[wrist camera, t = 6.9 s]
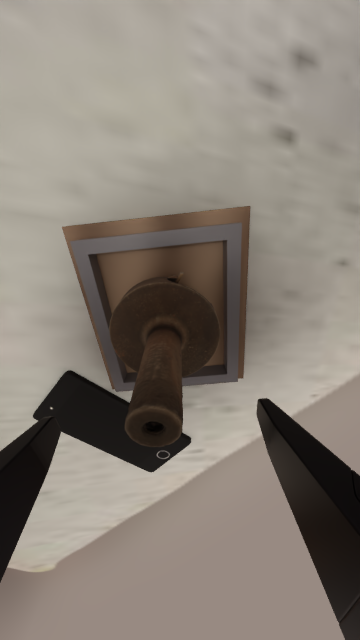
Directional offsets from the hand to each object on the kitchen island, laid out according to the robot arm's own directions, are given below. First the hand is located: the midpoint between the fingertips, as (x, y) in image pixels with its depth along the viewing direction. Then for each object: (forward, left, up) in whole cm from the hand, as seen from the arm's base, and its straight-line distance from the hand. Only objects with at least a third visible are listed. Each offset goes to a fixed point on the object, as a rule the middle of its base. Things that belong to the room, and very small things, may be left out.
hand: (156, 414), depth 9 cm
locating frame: (0, 0, -12) cm, 12 cm away
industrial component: (0, 0, -11) cm, 11 cm away
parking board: (0, 0, -12) cm, 12 cm away
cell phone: (+8, +15, -12) cm, 21 cm away
